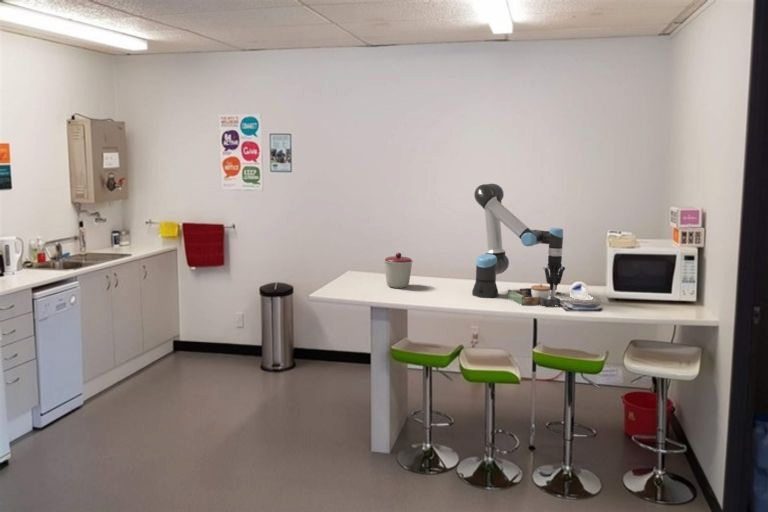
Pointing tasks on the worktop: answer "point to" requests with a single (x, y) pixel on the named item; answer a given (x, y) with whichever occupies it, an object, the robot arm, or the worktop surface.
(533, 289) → the lidded jar
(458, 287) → the worktop surface
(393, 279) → the canister
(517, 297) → the trap box
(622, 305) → the worktop surface
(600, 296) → the worktop surface
